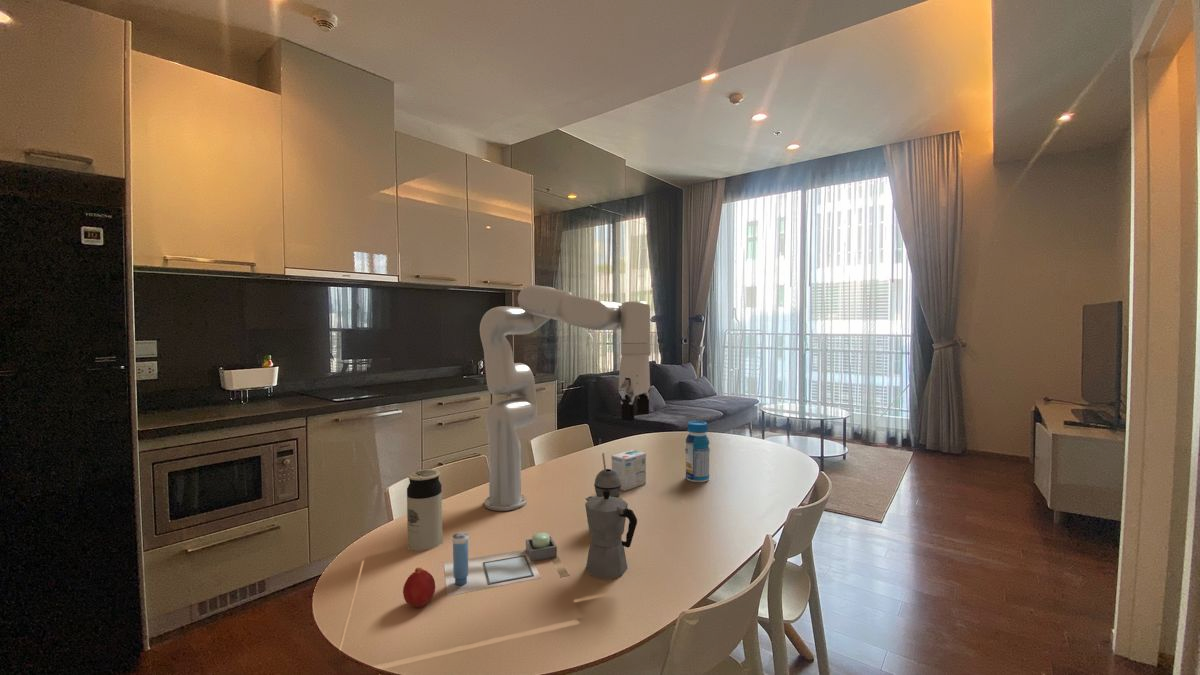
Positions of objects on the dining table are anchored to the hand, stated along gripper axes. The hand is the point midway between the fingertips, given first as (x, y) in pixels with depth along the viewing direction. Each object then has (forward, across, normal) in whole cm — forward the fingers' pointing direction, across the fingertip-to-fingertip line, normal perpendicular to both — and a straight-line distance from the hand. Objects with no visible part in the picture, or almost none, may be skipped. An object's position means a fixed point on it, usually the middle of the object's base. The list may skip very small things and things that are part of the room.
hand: (635, 416), depth 121 cm
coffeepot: (+31, +19, +2) cm, 36 cm away
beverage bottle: (+31, -52, +1) cm, 60 cm away
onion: (+31, +47, -25) cm, 62 cm away
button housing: (+30, +20, -16) cm, 39 cm away
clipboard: (+31, +29, -20) cm, 47 cm away
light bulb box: (+31, -35, -18) cm, 50 cm away
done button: (+28, +20, -16) cm, 38 cm away
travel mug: (+31, +28, -44) cm, 61 cm away
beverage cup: (+31, -2, -9) cm, 32 cm away
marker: (+30, +38, -23) cm, 54 cm away
